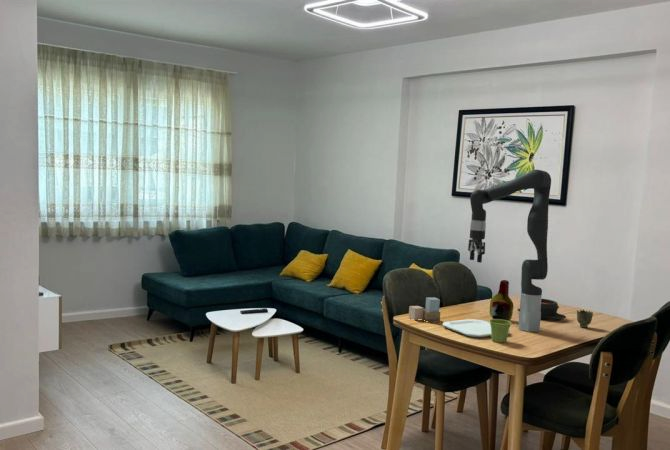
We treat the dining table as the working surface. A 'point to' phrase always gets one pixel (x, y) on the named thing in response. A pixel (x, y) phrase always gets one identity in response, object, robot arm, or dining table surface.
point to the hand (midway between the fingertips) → (475, 261)
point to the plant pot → (499, 330)
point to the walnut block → (431, 316)
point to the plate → (470, 327)
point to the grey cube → (432, 304)
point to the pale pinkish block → (416, 312)
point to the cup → (584, 318)
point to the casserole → (549, 310)
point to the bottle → (502, 303)
